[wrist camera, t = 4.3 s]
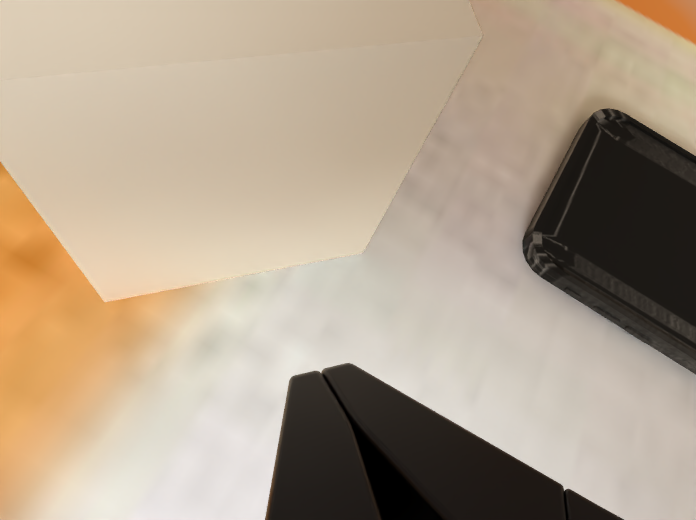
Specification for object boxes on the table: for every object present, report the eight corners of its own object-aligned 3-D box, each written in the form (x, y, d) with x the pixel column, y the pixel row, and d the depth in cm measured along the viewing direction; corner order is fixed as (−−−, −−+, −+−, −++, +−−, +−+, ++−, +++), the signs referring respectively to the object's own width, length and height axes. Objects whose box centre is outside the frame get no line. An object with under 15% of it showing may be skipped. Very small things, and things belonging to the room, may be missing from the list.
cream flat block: (362, 253, 19) (483, 34, 10) (104, 302, 17) (-56, 84, 8) (341, 181, 20) (434, -84, 10) (93, 219, 18) (-65, -67, 8)
